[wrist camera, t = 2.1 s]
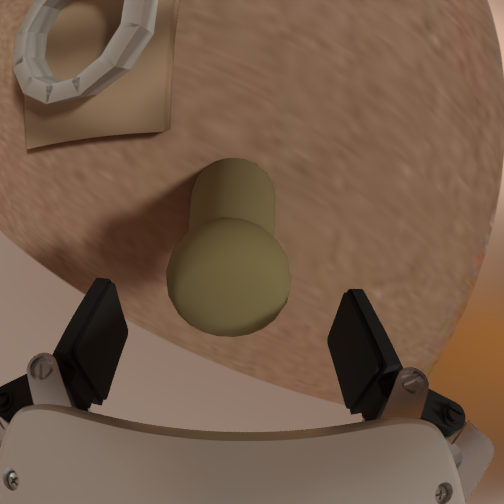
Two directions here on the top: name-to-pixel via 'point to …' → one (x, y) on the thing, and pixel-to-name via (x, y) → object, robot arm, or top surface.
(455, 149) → the top surface
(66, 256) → the top surface
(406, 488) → the robot arm
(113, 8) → the socket board
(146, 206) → the top surface
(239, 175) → the olive green peg
